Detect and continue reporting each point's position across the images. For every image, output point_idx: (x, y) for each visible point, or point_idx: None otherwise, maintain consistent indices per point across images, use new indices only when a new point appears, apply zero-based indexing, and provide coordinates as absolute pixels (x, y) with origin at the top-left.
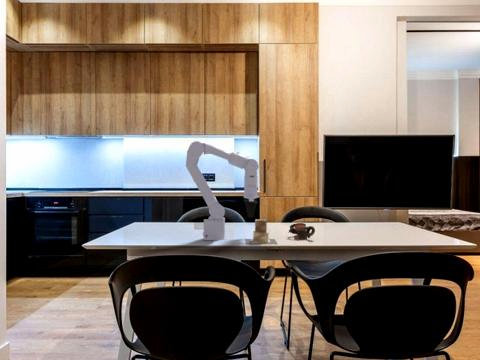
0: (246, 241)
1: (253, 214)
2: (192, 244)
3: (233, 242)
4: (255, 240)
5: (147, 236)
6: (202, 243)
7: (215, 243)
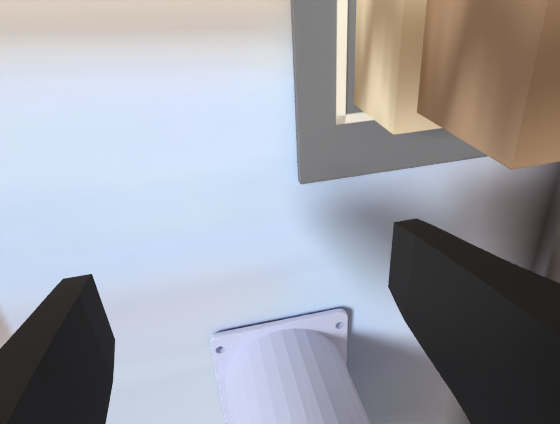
0: (433, 156)
1: (459, 244)
2: (448, 412)
3: None
4: None
5: None
6: (424, 386)
7: None
